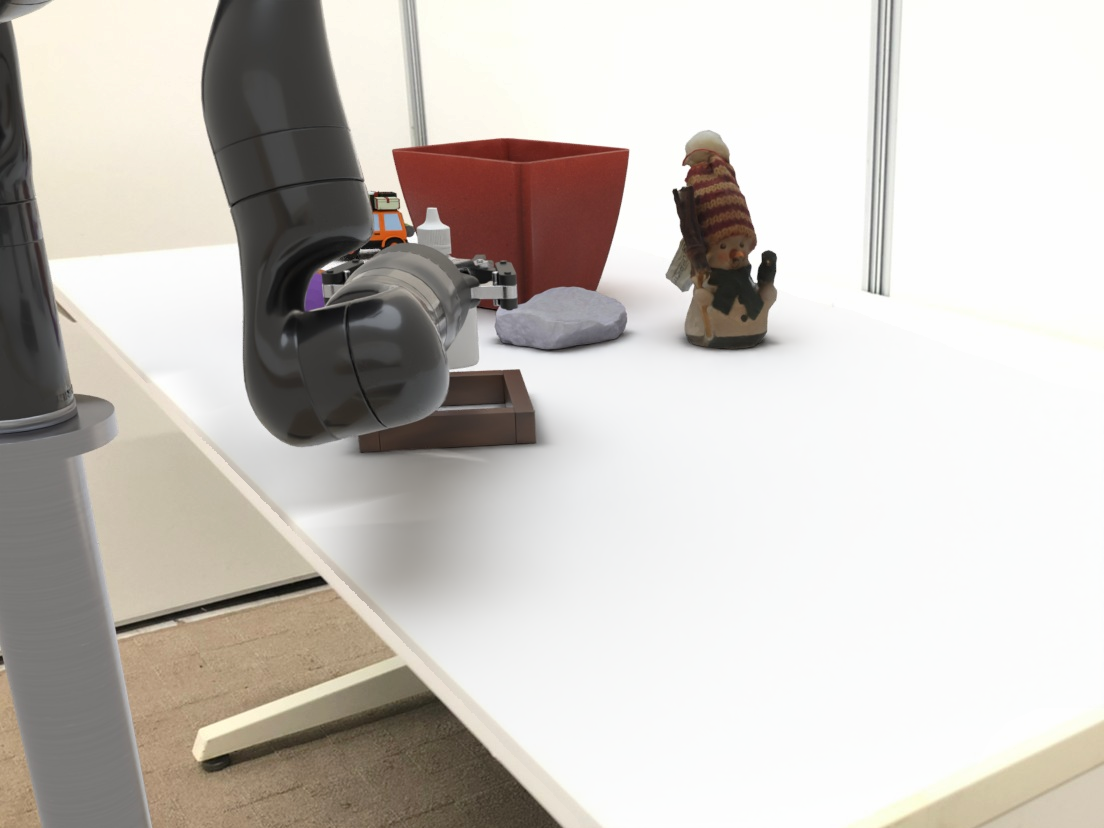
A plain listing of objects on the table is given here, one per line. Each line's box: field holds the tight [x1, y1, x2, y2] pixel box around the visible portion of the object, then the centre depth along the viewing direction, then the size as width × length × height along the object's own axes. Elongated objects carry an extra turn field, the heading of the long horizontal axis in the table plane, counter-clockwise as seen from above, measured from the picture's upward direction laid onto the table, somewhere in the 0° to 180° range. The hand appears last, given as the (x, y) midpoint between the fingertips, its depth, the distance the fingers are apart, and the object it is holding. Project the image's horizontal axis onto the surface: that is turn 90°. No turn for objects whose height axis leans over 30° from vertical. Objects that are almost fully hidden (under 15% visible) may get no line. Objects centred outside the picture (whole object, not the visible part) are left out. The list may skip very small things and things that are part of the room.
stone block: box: [494, 287, 628, 350], centre depth 129 cm, size 12×5×10 cm
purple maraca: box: [305, 269, 326, 311], centre depth 135 cm, size 6×6×20 cm
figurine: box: [665, 129, 778, 350], centre depth 127 cm, size 13×12×20 cm
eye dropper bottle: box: [416, 208, 480, 371], centre depth 97 cm, size 4×6×12 cm
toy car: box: [342, 190, 416, 260], centre depth 170 cm, size 7×12×9 cm, turn 121°
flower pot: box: [391, 137, 630, 311], centre depth 143 cm, size 19×19×17 cm
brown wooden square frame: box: [357, 368, 537, 453], centre depth 101 cm, size 13×13×2 cm
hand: (440, 267), depth 99 cm, fingers closed on eye dropper bottle, 5 cm apart
